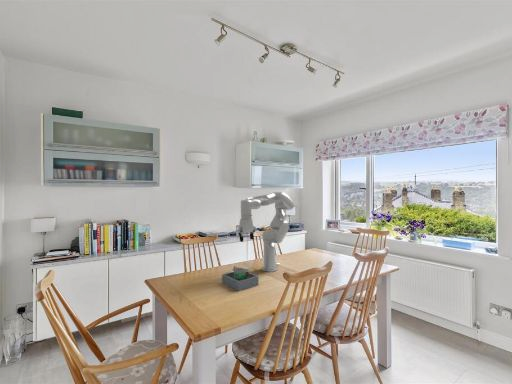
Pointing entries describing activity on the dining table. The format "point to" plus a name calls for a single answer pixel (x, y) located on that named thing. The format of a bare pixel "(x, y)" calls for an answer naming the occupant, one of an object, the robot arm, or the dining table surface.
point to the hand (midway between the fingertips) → (246, 240)
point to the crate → (239, 285)
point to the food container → (240, 273)
